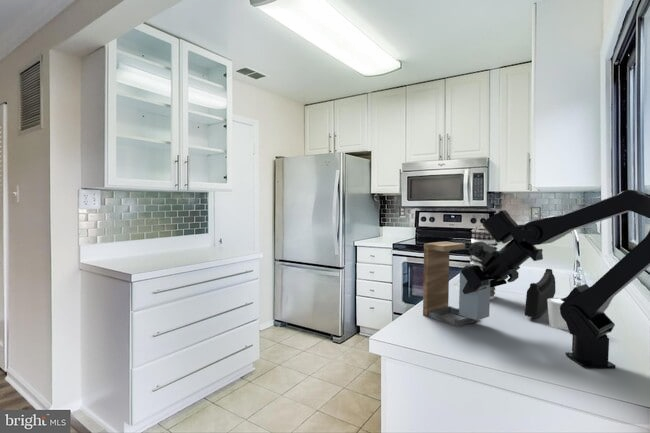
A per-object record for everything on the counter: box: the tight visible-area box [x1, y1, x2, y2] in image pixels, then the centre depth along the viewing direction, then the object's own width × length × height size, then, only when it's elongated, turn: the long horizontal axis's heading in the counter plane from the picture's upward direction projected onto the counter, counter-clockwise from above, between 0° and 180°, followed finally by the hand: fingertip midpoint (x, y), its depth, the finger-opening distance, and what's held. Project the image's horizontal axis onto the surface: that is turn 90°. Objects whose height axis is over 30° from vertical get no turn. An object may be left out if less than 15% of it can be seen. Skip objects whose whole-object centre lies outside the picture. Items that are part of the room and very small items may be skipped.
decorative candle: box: [469, 225, 498, 300], centre depth 129 cm, size 9×9×25 cm
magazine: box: [524, 268, 556, 319], centre depth 114 cm, size 17×3×30 cm
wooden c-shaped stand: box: [422, 241, 478, 328], centre depth 106 cm, size 12×10×22 cm
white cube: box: [547, 297, 569, 331], centre depth 99 cm, size 7×7×7 cm
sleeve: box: [458, 269, 491, 321], centre depth 100 cm, size 6×6×12 cm
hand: (470, 291), depth 101 cm, fingers closed on sleeve, 6 cm apart
